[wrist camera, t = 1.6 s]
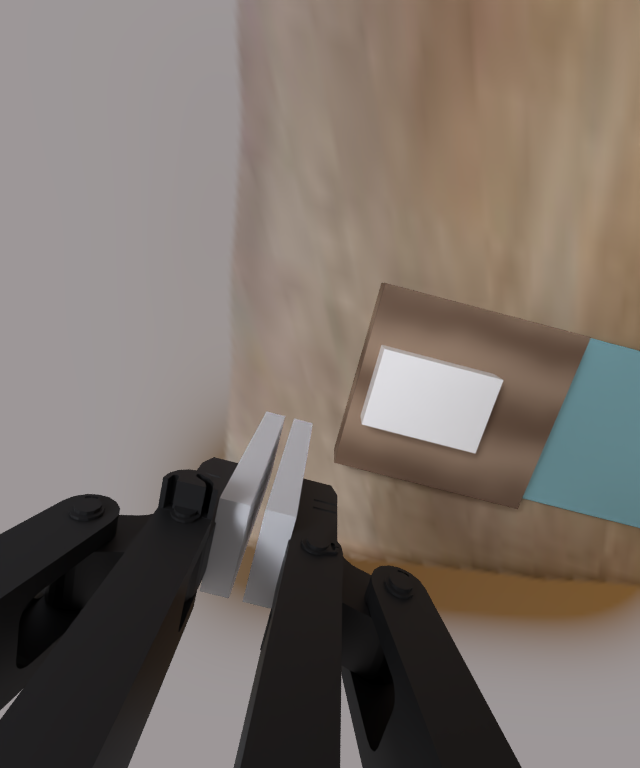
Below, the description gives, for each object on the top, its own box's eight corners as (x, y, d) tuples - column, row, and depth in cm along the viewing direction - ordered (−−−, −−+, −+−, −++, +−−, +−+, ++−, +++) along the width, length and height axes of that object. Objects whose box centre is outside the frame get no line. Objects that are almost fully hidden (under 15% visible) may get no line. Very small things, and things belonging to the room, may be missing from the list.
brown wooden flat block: (381, 282, 33) (385, 283, 30) (569, 332, 34) (590, 337, 31) (334, 448, 37) (334, 462, 34) (503, 491, 37) (517, 508, 34)
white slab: (381, 344, 31) (384, 348, 29) (493, 373, 32) (503, 380, 30) (360, 416, 33) (361, 424, 31) (467, 443, 33) (475, 453, 31)
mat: (580, 335, 34) (584, 336, 33) (730, 375, 34) (735, 376, 33) (514, 493, 37) (516, 496, 37) (648, 528, 38) (653, 531, 37)
